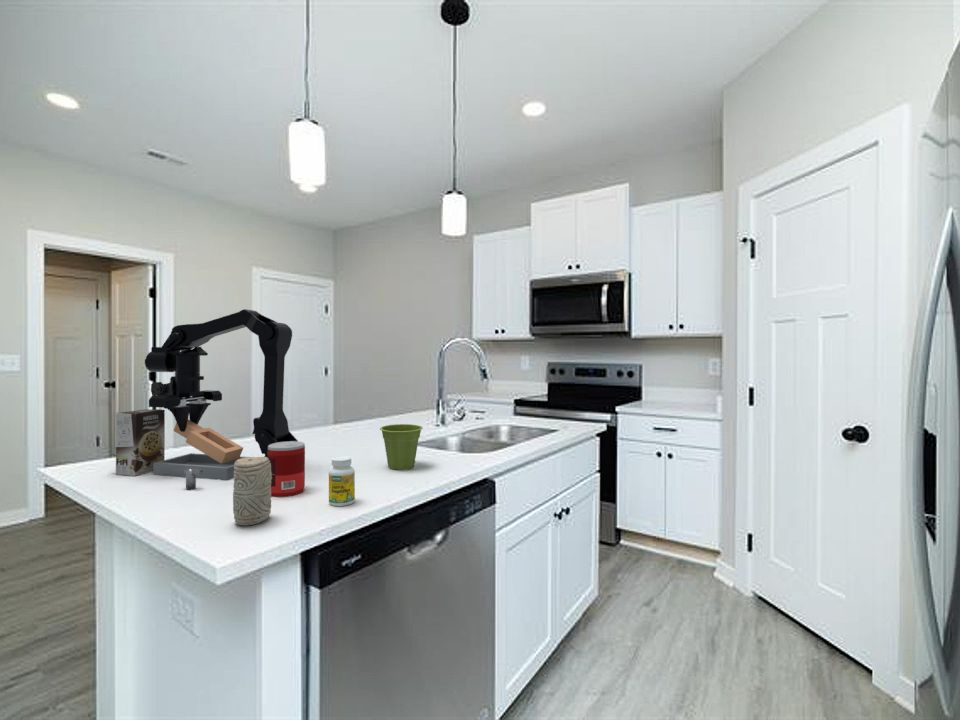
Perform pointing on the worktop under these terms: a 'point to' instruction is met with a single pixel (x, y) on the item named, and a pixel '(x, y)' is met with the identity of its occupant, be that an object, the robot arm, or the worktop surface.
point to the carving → (252, 490)
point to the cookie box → (139, 441)
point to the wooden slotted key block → (210, 442)
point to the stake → (191, 477)
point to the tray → (196, 466)
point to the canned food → (287, 468)
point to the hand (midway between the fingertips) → (187, 430)
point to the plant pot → (401, 444)
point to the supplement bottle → (341, 482)
